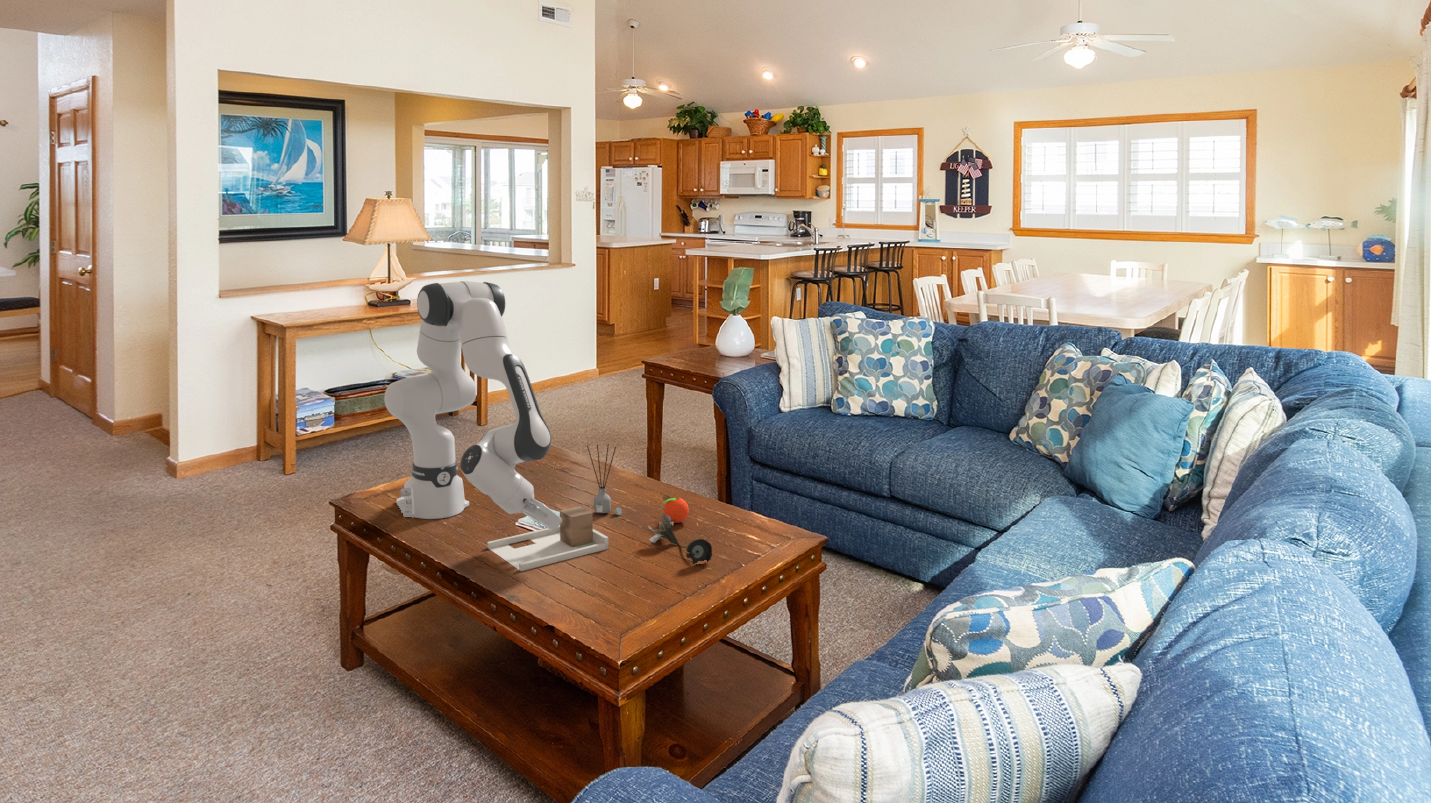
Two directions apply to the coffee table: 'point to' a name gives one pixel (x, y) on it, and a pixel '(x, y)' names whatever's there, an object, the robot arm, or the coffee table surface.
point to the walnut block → (576, 526)
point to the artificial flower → (696, 548)
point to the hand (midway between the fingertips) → (551, 524)
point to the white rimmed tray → (543, 548)
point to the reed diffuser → (603, 492)
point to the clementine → (676, 509)
